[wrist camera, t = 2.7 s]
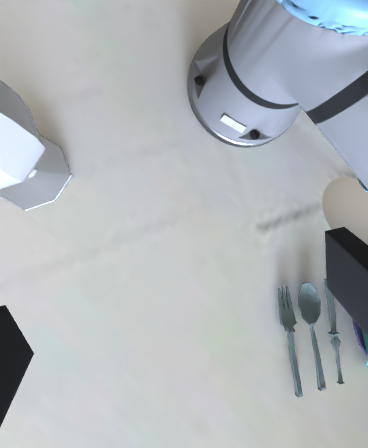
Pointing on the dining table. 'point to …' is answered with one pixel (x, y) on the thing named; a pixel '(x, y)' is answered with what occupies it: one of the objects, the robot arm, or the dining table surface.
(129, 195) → the dining table surface
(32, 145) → the wineglass
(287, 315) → the cutlery set
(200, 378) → the dining table surface
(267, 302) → the dining table surface
